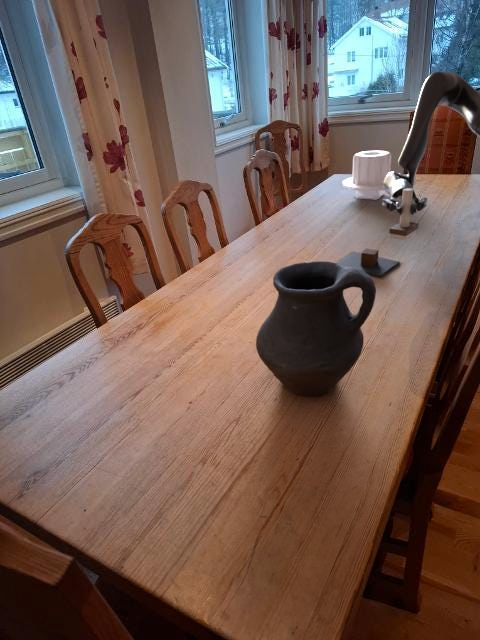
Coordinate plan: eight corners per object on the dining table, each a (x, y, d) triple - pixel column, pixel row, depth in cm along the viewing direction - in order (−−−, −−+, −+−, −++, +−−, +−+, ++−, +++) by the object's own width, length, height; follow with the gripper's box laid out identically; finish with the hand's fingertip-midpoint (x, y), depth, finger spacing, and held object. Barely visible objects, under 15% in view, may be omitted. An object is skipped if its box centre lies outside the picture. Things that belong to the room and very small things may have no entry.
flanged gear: (404, 191, 203) (408, 148, 193) (388, 205, 185) (392, 159, 176) (353, 188, 216) (355, 148, 206) (333, 201, 198) (334, 158, 189)
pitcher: (277, 345, 100) (271, 243, 87) (374, 358, 92) (383, 248, 79) (246, 402, 83) (233, 287, 71) (360, 424, 76) (369, 299, 63)
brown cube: (377, 262, 134) (378, 250, 132) (373, 266, 131) (374, 254, 129) (365, 260, 136) (365, 248, 134) (360, 265, 133) (361, 252, 131)
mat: (399, 263, 133) (399, 261, 132) (380, 277, 126) (380, 275, 125) (353, 253, 143) (353, 251, 142) (333, 265, 136) (333, 264, 135)
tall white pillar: (401, 230, 137) (405, 185, 130) (417, 233, 134) (423, 186, 127) (388, 238, 132) (392, 191, 125) (405, 241, 129) (410, 193, 122)
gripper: (380, 185, 141) (382, 199, 126) (426, 183, 137) (434, 198, 123) (379, 207, 144) (381, 224, 130) (423, 206, 141) (430, 223, 126)
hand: (407, 211), depth 126 cm, fingers closed on tall white pillar, 3 cm apart
